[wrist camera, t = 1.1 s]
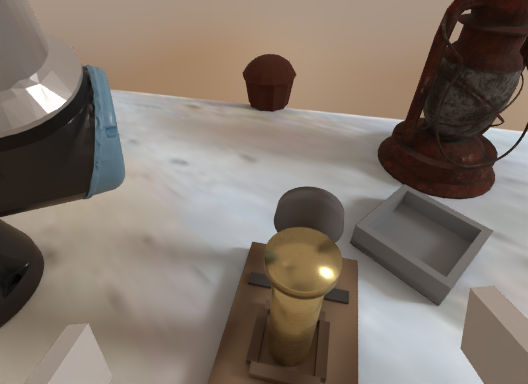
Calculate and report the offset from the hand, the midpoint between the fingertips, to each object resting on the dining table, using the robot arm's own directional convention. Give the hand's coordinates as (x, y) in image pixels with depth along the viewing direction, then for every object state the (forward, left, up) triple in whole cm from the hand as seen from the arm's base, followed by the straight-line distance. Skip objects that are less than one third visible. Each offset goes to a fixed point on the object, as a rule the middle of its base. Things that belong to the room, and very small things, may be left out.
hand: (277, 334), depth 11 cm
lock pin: (-4, +7, -20) cm, 22 cm away
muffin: (-45, +43, -22) cm, 66 cm away
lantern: (-9, +49, -22) cm, 54 cm away
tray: (-2, +29, -22) cm, 36 cm away
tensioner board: (-6, +10, -22) cm, 24 cm away
